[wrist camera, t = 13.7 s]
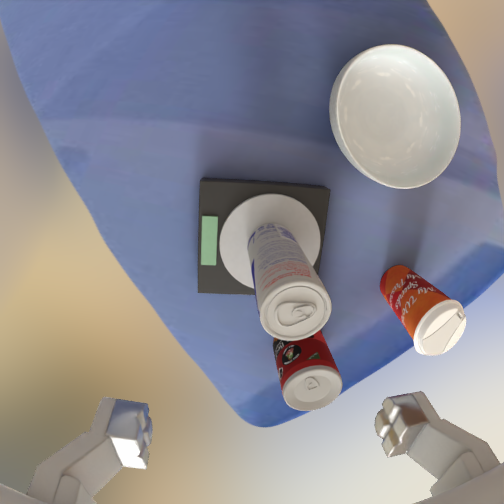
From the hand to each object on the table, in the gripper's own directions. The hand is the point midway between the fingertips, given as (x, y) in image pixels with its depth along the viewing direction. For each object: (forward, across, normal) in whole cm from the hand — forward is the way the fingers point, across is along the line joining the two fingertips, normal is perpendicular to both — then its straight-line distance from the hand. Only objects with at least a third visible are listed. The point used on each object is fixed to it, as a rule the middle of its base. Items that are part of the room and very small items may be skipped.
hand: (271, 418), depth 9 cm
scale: (+31, -3, +4) cm, 31 cm away
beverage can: (+28, -4, +4) cm, 29 cm away
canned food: (+31, -10, +20) cm, 38 cm away
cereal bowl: (+31, -17, -13) cm, 38 cm away
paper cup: (+31, -24, +10) cm, 41 cm away
